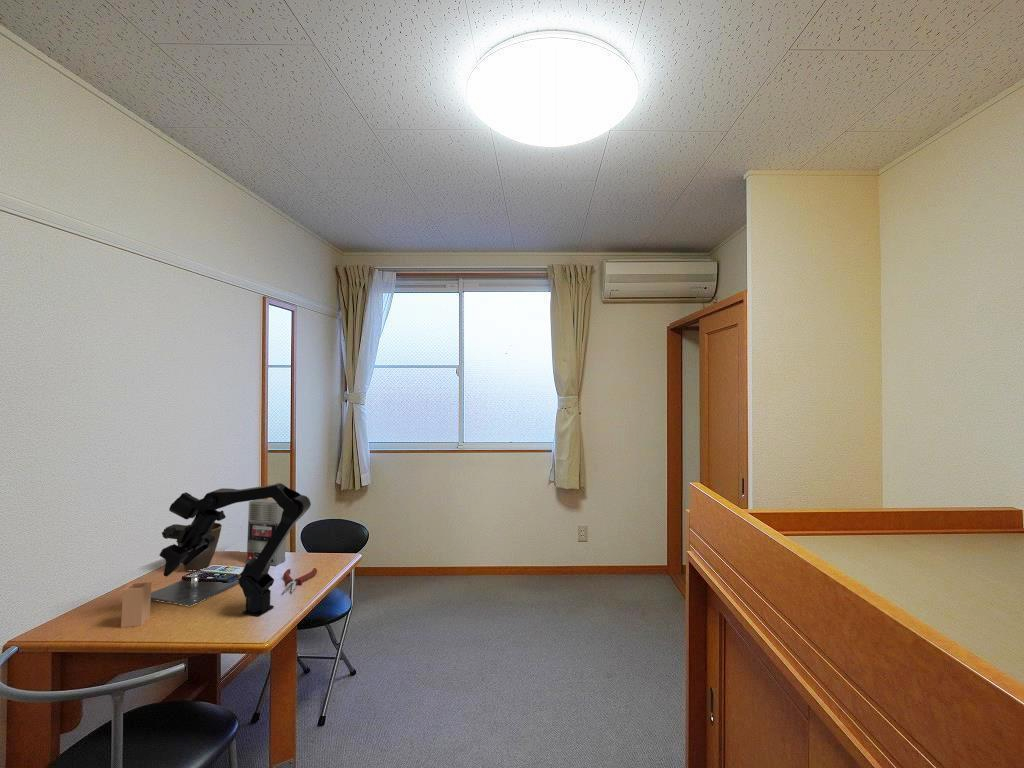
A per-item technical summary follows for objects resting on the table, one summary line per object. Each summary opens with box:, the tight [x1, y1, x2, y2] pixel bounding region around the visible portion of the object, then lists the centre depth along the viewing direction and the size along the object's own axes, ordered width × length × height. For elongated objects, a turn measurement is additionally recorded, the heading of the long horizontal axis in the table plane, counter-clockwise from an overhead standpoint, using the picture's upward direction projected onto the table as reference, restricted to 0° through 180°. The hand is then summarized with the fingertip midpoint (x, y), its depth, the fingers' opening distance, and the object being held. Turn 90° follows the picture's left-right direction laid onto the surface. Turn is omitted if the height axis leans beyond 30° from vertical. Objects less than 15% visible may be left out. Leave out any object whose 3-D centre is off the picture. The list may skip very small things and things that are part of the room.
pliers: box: [282, 567, 318, 595], centre depth 166 cm, size 12×20×3 cm, turn 11°
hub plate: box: [151, 573, 239, 606], centre depth 158 cm, size 20×20×6 cm
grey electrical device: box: [244, 498, 287, 566], centre depth 186 cm, size 14×6×25 cm, turn 82°
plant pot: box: [176, 522, 223, 571], centre depth 178 cm, size 15×15×16 cm
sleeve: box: [120, 581, 152, 629], centre depth 135 cm, size 5×5×11 cm
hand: (175, 570), depth 142 cm, fingers open, 9 cm apart
